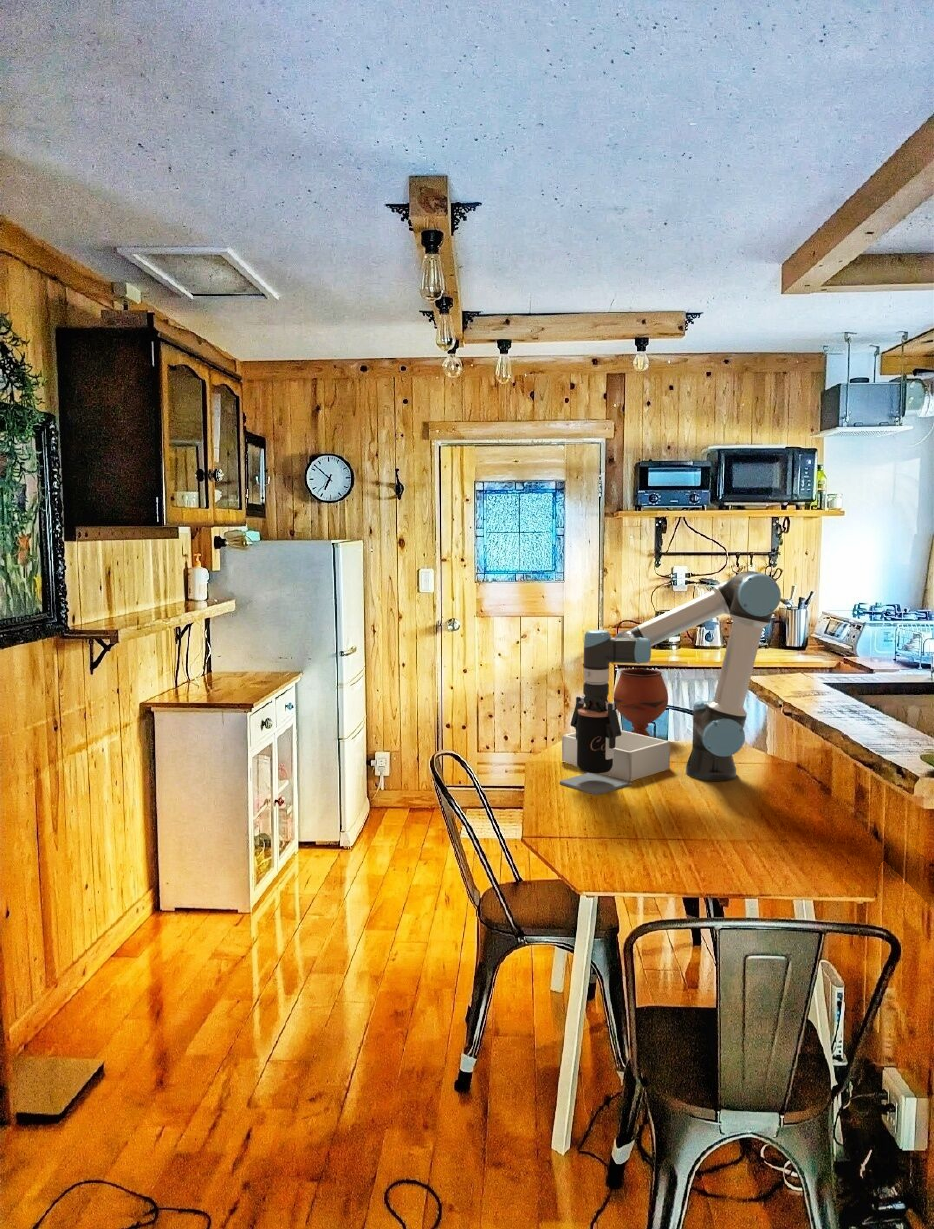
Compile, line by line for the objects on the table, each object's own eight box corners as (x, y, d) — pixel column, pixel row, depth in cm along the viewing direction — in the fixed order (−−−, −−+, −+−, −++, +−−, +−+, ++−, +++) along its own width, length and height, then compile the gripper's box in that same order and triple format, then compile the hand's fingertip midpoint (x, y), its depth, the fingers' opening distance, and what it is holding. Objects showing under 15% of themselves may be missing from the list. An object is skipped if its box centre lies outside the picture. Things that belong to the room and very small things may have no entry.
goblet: (676, 744, 310) (678, 674, 307) (625, 747, 306) (626, 677, 303) (653, 731, 329) (654, 665, 326) (605, 734, 325) (606, 667, 322)
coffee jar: (590, 776, 257) (591, 715, 255) (569, 766, 266) (570, 708, 264) (619, 771, 262) (621, 711, 260) (598, 762, 271) (599, 705, 269)
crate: (669, 769, 280) (670, 741, 279) (629, 781, 267) (629, 752, 266) (602, 751, 301) (602, 725, 300) (561, 762, 288) (562, 735, 287)
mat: (630, 785, 264) (630, 782, 263) (597, 795, 254) (597, 792, 254) (592, 774, 275) (592, 771, 275) (559, 783, 265) (559, 781, 265)
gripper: (559, 678, 267) (558, 749, 270) (618, 689, 250) (616, 765, 252) (575, 675, 272) (574, 744, 274) (635, 686, 255) (633, 760, 257)
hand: (594, 754), depth 263 cm, fingers closed on coffee jar, 11 cm apart
